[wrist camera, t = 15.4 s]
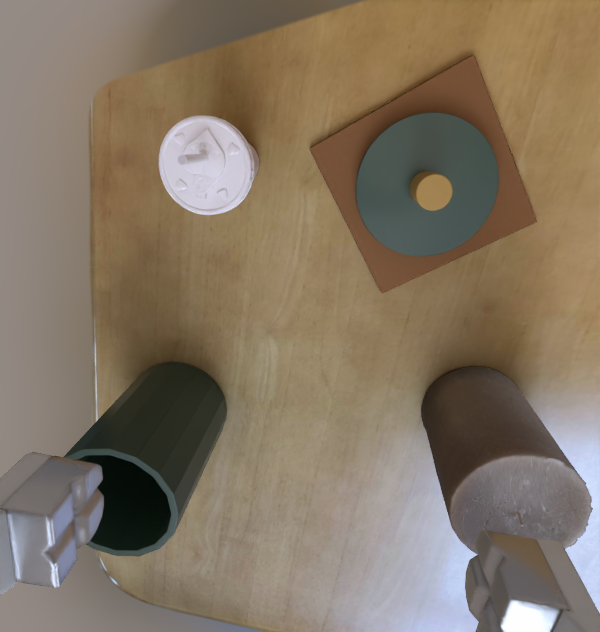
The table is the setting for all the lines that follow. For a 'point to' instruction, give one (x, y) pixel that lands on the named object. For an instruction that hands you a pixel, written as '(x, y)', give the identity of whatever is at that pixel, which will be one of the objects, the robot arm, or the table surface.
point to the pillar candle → (500, 462)
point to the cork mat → (432, 96)
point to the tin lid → (427, 184)
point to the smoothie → (207, 165)
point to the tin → (152, 455)
